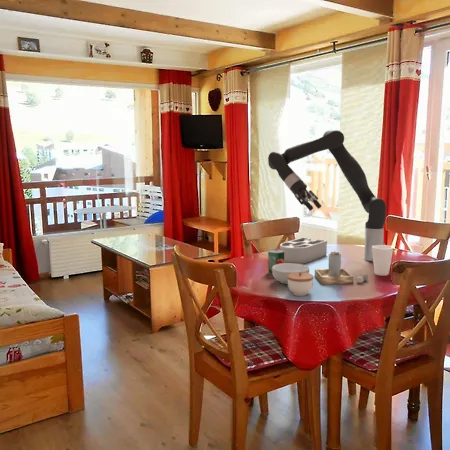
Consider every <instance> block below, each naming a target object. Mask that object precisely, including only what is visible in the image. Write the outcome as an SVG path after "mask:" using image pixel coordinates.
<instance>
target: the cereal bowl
mask: <svg viewBox="0 0 450 450" xmlns="http://www.w3.org/2000/svg"><path fill="white" fill-rule="evenodd" d="M297 272H302V273H309V274H310V267H309V266H308V265H305V264H303V263H286V262H284V263H283V264H277V265H274V266H273V267H272V274H273V275H272V274H271V275H272V276H273V277H274V279H276V280H277V281H278V282H280V283H281V284H284V285H288V278H287V275H288V274H291V273H297Z"/></svg>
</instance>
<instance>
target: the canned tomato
mask: <svg viewBox="0 0 450 450" xmlns="http://www.w3.org/2000/svg"><path fill="white" fill-rule="evenodd" d="M267 252H268V256H267V258H268V259H267V260H268V261H267V263H268V274H269V275H272V276H273V274H272V267H273V266H274V265H277V264H283V263H285V262H284V250H281V249H280V248H274V249H273V248H272V249H269V250H268V251H267Z"/></svg>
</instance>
